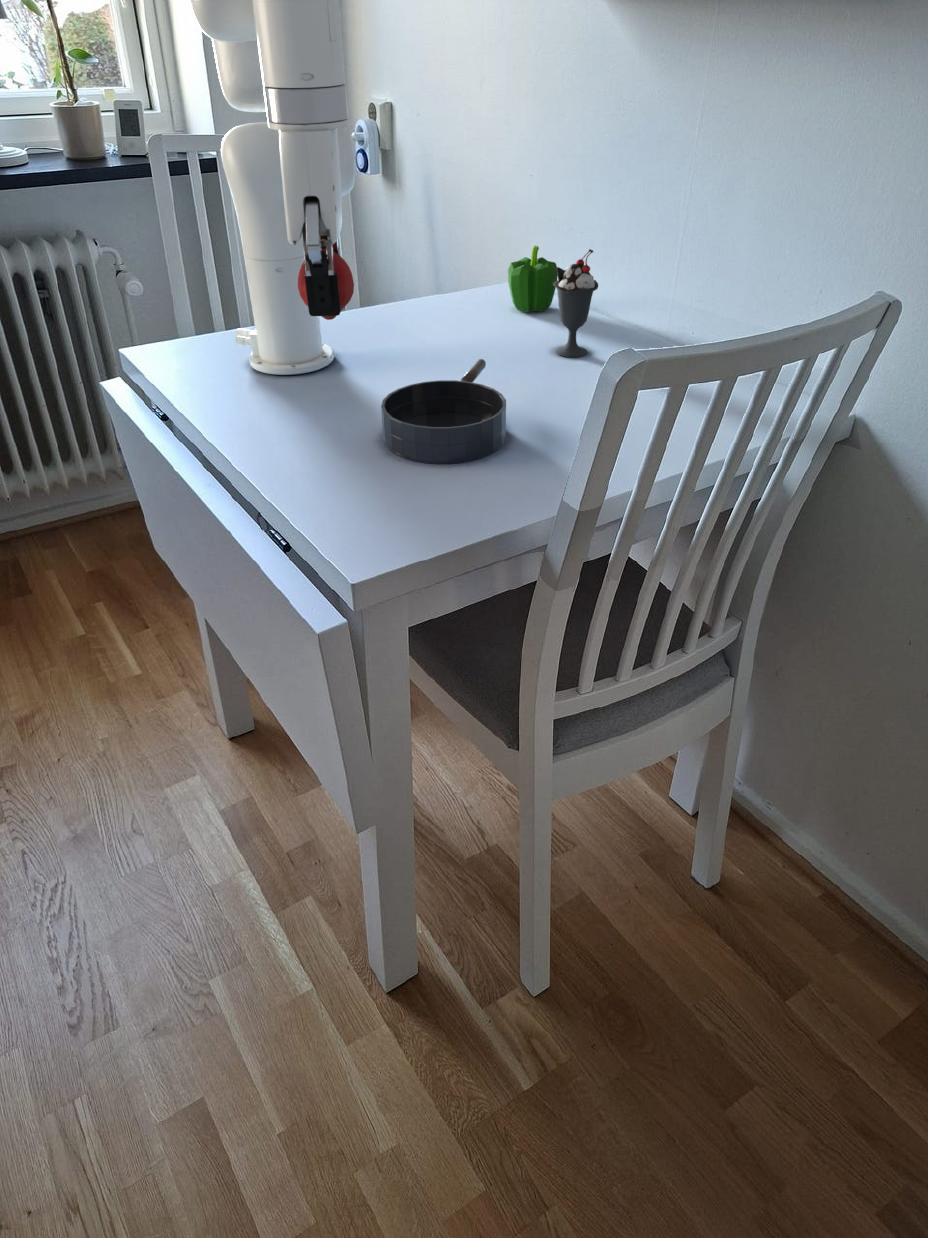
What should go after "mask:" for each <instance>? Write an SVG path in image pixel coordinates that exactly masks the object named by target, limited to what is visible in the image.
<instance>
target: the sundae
mask: <svg viewBox="0 0 928 1238" xmlns="http://www.w3.org/2000/svg"><path fill="white" fill-rule="evenodd" d="M592 253H594V250H593V249H591V248H589V249H588V252H586V254H584V255H583V257H581V259H580V258H579V259H577V260H576V262H575V263H572V264H570V265H568V266H567V267H566V268H565V269H563V268H561V267H559V266H557V268H556V269H557V275H558V276H557V281H554V282H553V285H554V286H555V287H556V291H557V300H558V301H557V302H558V313H559V320H560V322H561V324H562V325H563V326H564V327H565V328H566V329H567V330H568V338H567V341H566V344H564V345H563V346H562V345H561V346H558V347H557V348H556V349H555V351H554V352H555V354H556V355H558V356H559V357H560V356H561V357H564V358H581V357H584V356H586V355H587V354H588V349H586V347H583V346H579V344H578V343H577V332H578V331H579V329H581V328H582V327H583V326H584V325H585V324H586V322H587V321H588V317H589V312H590V309H591V308H590V307H591V304H592V303H591V302H592V297H593V294H594V292H595V291H596V290H598V289H599V282H598V281H597V280H596V279H594V276H593V275H592V273H591V272H590V271H591V266H589V265H588V263H587V261H588V257H589V256H590V255H591V254H592ZM584 259H585V261H584Z"/></svg>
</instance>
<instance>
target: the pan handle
mask: <svg viewBox="0 0 928 1238" xmlns="http://www.w3.org/2000/svg"><path fill="white" fill-rule="evenodd" d="M486 366H487V363H486V360H484V359H483V358H479V359H477V360H476V361H475V363H473V364H472V366H471V367H470V368H469V369H468V370H467V372H465V374H464V375H463V376H462V378H461V379H459V381H466V382H472V383H474V382H475V380H476V379H477V378H478V377H479V376H480V374H481V373H482V372H483V370H484V369H485V368H486Z"/></svg>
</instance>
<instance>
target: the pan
mask: <svg viewBox="0 0 928 1238" xmlns="http://www.w3.org/2000/svg"><path fill="white" fill-rule="evenodd" d="M380 410H381V425H382V426H381V427H382V438H383V442H384V445H385V447H386V449H388V450H389V451H390V452H391V453H392V454H393V455H396V456H398V457H400V458H402V459H405V460H408V461H413V462H417V463H422V464H431V465H452V464H462V463H468V462H473V461H476V460H480V459H483V458H485V457H488V456H490V455H492V454H494V453H495V452H497V451H499V450H500V449H501V448H502V447H503V445H504V444H505V441H506V437H507V436H506V435H507V434H506V433H507V398H506V397H504V395H503V394H502V393H501V392H500V391H498V390H496V389H495V388H493V387H491V386H487V385H485V384H481V383H478V382H477V383H476V382H473V383H472V382H466V381H460V380H453V379H451V380H450V379H449V380H448V379H447V380H445V379H443V380H441V379H440V380H429V381H422V382H416V383H412V384H409V385H405V386H402V387H400V388H397V389H395V390H393V391H391V392H390V393H388V394H387V395H386V396H385V397H384V398H383V399H382V401H381V405H380Z"/></svg>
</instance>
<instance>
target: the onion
mask: <svg viewBox="0 0 928 1238" xmlns="http://www.w3.org/2000/svg"><path fill="white" fill-rule="evenodd" d="M321 241H326V240H325V239H321ZM322 251H325V253H326V254H327V250H326V249H322ZM333 261H334V274H337V276H338V287H339V297H340V308H341V311H343V310H344V309H345V308H346V306H347V305H348V304H349V303H350V302H351V300H352V297H353V295H354V290H355V282H354V277H353V273H352V271H351V268H350V266H349V265H348V263H347V261H346V260H345V259H344V258H343V257H342V256H341V255H340V254H339V255H338V254H337V253H336V252H334V251H333ZM305 274H306V272H305V260H304V261H303V263H302V264H301V267H300V269H299V274H298V290H299V294H300V297H301V298H302V300H303V302H304V303H305V304H306V305H307V306H308V300H307V292H306V283H305ZM320 317H321V318H323V319H324V320H327V321H330V320H331V321H332V320H334V319H335V318H336V317H337V316H320Z"/></svg>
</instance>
